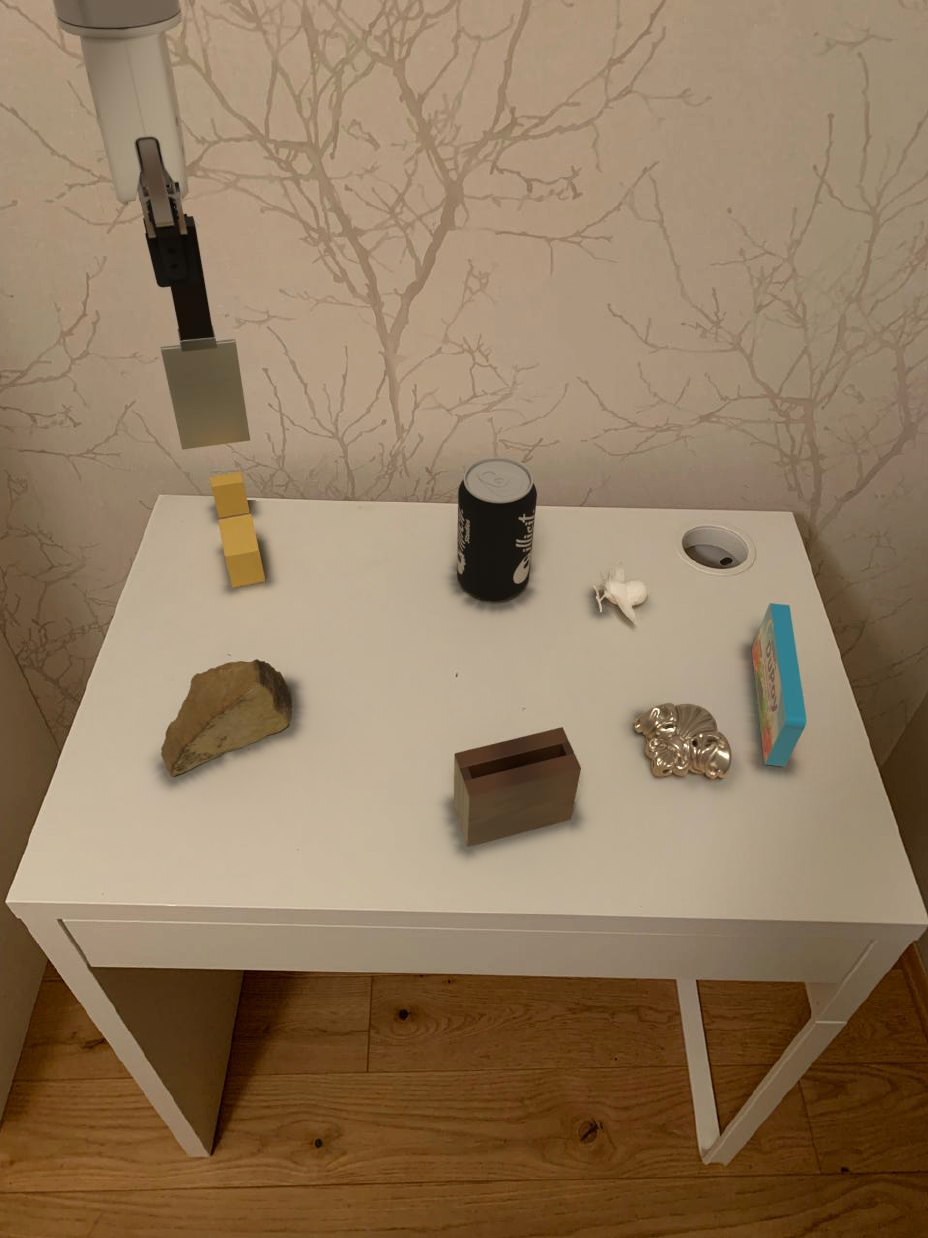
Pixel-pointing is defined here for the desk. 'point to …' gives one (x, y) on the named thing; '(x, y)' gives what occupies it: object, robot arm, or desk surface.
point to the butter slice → (229, 494)
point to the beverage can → (495, 528)
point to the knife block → (515, 786)
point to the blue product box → (778, 686)
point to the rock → (226, 713)
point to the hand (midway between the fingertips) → (177, 274)
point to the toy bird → (622, 591)
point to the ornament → (684, 741)
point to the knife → (203, 370)
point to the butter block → (241, 550)
